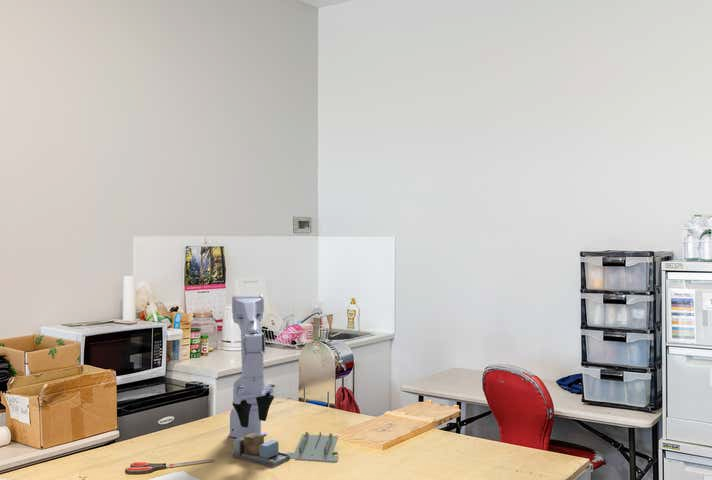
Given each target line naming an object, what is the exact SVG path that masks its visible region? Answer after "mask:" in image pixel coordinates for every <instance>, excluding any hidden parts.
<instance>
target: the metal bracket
mask: <svg viewBox="0 0 712 480" xmlns="http://www.w3.org/2000/svg"><path fill="white" fill-rule="evenodd" d="M338 439H339V436H338V435H333V433H329V434H328V435H322V431H319V434H309V431H305V432H304V434H301V437H300V439H299V441H298V443H297V446H296V448H295V450H294V452H290V451H289V452H287V453H288V455H290V458H289V459H295V460H294V461H306V460H307V461H308V462H324V463H332V464H333V463H334V464H335V463H337V462H338V459H339V455H337V454H334V455H333V453H334V450H335V447H336V444H337V442H338Z"/></svg>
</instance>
